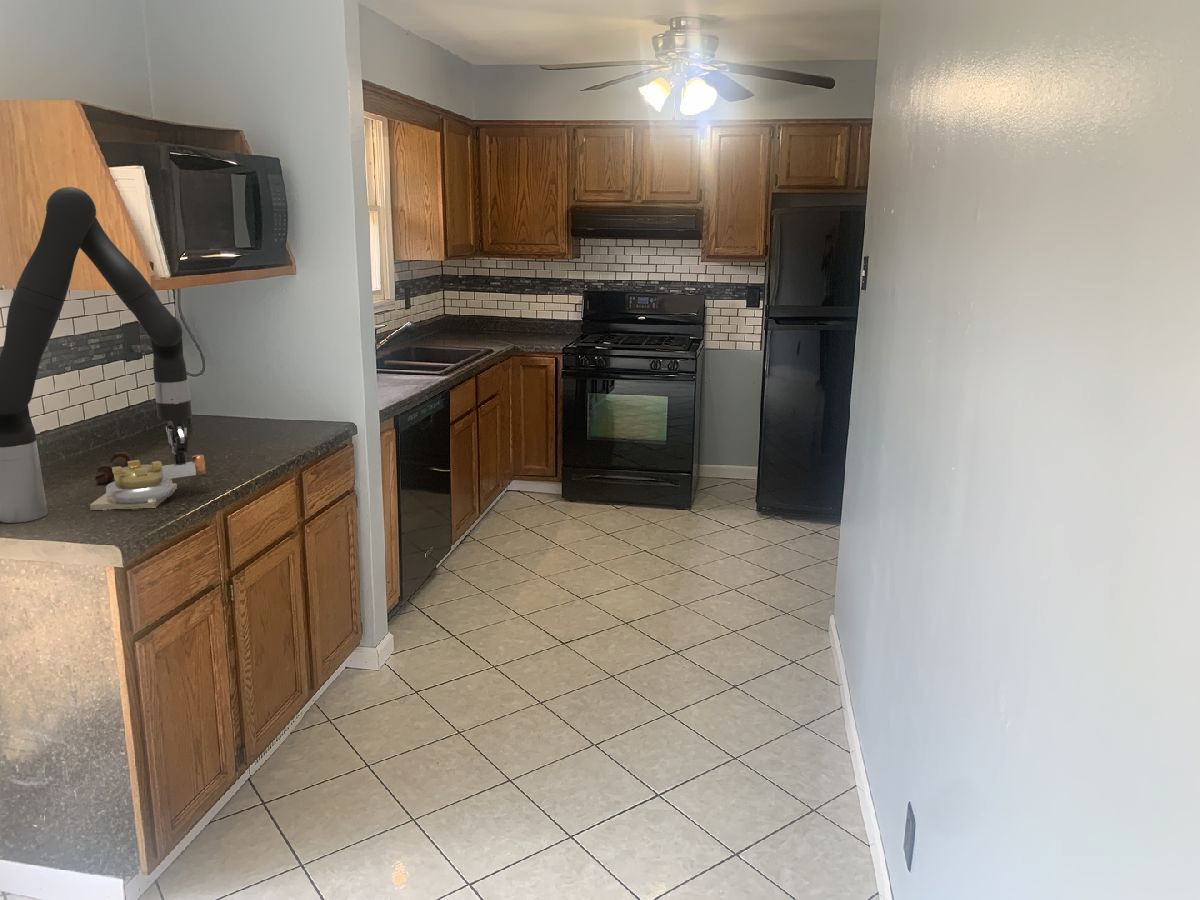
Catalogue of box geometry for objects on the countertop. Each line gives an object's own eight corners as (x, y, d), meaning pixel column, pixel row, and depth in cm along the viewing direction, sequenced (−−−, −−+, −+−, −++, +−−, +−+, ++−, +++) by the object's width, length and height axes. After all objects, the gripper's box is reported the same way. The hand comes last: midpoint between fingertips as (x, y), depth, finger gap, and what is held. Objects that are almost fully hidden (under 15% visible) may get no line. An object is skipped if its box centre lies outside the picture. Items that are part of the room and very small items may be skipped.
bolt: (99, 492, 227) (122, 474, 241) (116, 482, 227) (138, 465, 241) (84, 473, 225) (108, 456, 239) (101, 463, 225) (124, 447, 239)
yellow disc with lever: (119, 491, 205) (116, 472, 204) (111, 480, 213) (108, 463, 212) (210, 477, 216) (208, 459, 215) (200, 468, 224) (198, 451, 223)
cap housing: (89, 512, 205) (86, 493, 204) (117, 490, 221) (115, 473, 220) (162, 509, 207) (160, 491, 206) (185, 488, 223) (183, 471, 222)
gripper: (150, 396, 218) (158, 464, 222) (161, 405, 207) (169, 477, 212) (183, 392, 222) (190, 460, 226) (196, 401, 212) (203, 472, 216)
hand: (180, 468), depth 219 cm, fingers closed
